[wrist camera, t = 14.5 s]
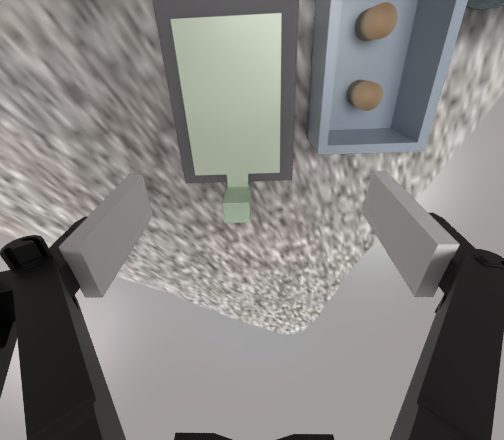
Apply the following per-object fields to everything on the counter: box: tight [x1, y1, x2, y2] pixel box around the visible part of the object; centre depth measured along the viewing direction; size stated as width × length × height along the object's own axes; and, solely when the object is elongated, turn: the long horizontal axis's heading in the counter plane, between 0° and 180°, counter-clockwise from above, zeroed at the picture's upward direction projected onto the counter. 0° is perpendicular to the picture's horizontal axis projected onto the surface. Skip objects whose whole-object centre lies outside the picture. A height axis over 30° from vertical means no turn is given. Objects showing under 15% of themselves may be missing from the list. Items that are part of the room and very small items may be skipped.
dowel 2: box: [346, 80, 383, 111], centre depth 33 cm, size 3×3×4 cm
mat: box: [153, 0, 299, 183], centre depth 35 cm, size 16×22×1 cm
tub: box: [307, 0, 468, 155], centre depth 30 cm, size 12×18×8 cm, turn 2°
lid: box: [170, 13, 282, 223], centre depth 34 cm, size 12×23×7 cm, turn 2°
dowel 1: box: [355, 2, 398, 41], centre depth 29 cm, size 3×3×4 cm
